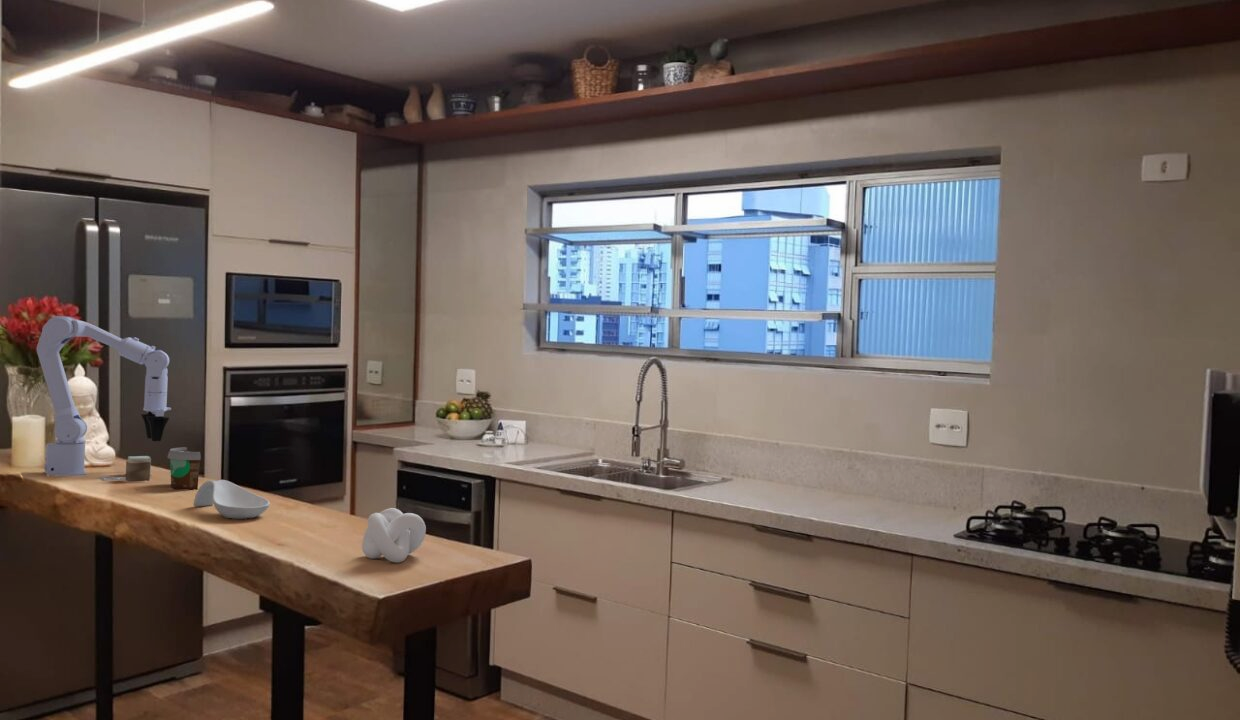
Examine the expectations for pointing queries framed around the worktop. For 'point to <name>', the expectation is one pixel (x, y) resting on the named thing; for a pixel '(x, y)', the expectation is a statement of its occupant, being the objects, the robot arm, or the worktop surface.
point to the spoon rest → (230, 500)
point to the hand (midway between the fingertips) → (154, 439)
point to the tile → (112, 478)
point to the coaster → (136, 481)
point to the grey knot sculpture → (393, 535)
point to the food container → (184, 468)
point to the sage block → (140, 458)
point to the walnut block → (138, 470)
